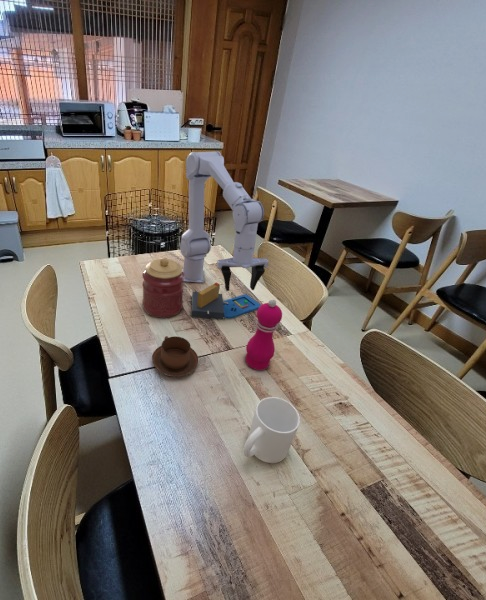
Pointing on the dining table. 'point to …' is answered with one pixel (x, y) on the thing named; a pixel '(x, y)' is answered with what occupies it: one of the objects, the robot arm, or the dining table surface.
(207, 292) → the tan rectangular block
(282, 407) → the mug
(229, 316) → the handheld gaming device
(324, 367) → the dining table surface
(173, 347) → the cup and saucer
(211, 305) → the frame stand
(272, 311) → the pepper mill
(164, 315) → the kitchen canister
